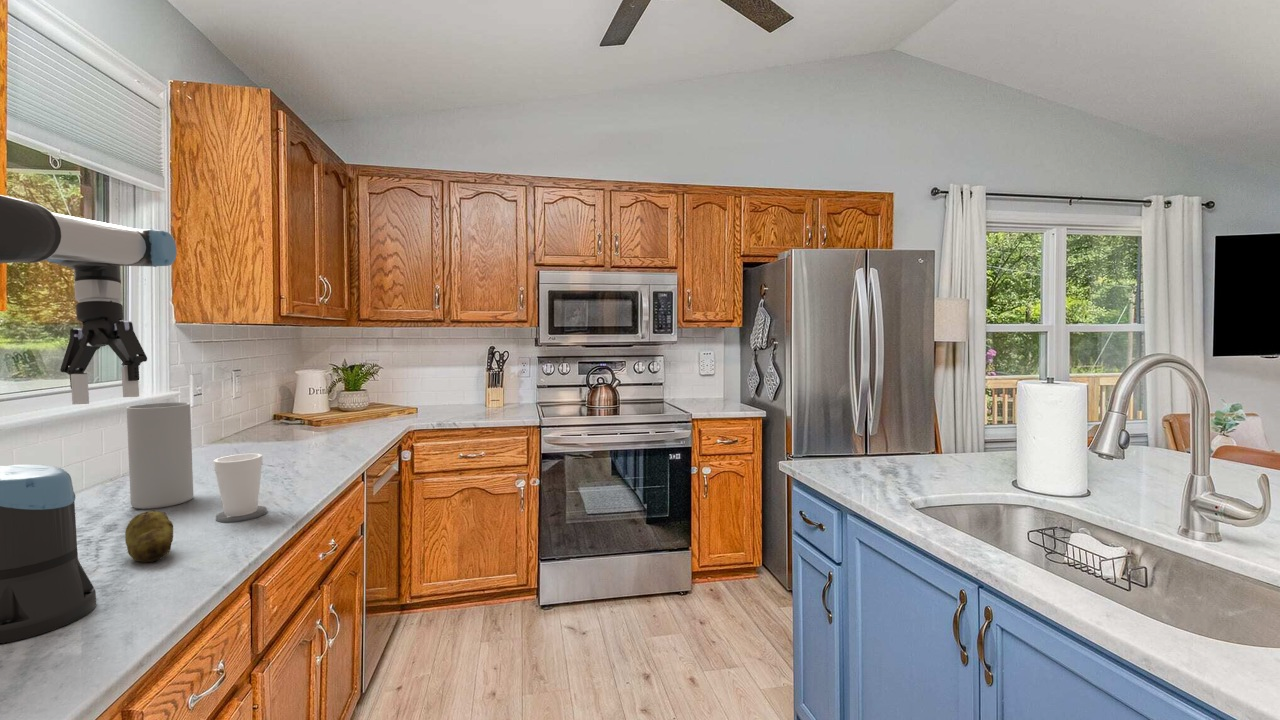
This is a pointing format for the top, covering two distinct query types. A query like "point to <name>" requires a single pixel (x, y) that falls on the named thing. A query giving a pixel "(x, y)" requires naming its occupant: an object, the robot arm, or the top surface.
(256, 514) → the coaster
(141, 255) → the robot arm
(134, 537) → the potato
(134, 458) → the cylinder vase
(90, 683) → the top surface
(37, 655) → the top surface
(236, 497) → the foam cup
